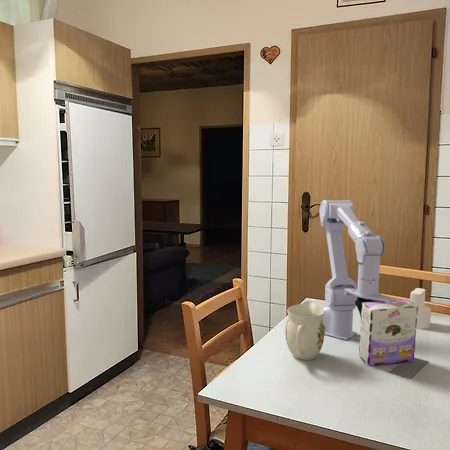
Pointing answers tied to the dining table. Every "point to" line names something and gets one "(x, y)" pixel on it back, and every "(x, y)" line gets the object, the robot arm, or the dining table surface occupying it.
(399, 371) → the mat
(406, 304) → the candy box
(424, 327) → the base with upright slab
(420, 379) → the dining table surface
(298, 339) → the pitcher
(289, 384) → the dining table surface
